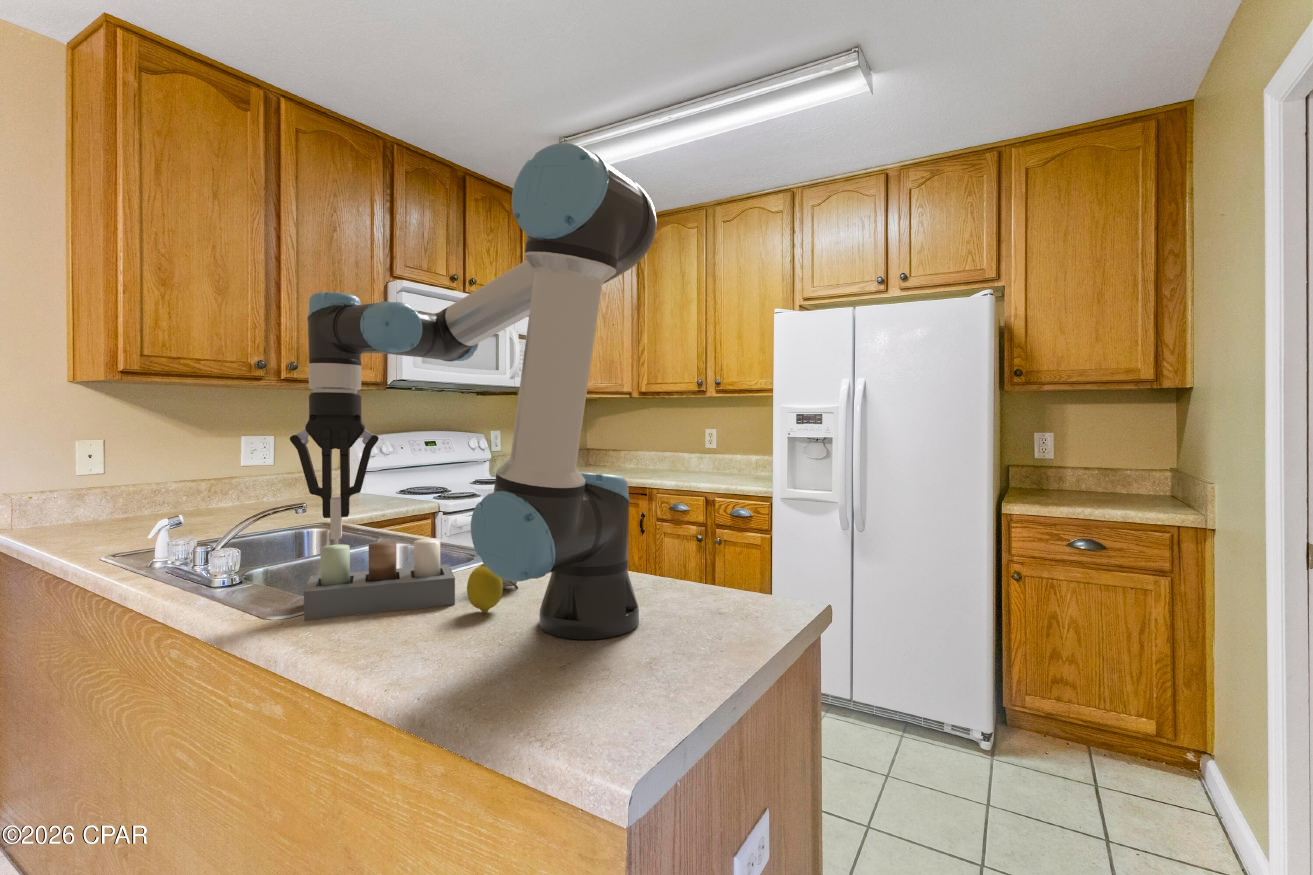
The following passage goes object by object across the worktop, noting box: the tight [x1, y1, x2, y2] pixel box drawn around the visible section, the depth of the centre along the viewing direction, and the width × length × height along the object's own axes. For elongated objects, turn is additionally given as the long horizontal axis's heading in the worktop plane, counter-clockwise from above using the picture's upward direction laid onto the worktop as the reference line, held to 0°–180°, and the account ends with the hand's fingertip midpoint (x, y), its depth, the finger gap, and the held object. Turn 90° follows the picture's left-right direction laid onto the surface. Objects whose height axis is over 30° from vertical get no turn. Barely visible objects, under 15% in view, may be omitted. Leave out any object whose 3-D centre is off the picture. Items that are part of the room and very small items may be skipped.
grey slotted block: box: [303, 563, 456, 622], centre depth 104 cm, size 10×22×4 cm, turn 114°
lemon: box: [466, 562, 504, 614], centre depth 100 cm, size 6×6×8 cm
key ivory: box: [413, 538, 441, 578], centre depth 107 cm, size 4×4×7 cm
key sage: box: [320, 544, 351, 586], centre depth 101 cm, size 4×4×7 cm
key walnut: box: [368, 541, 397, 582], centre depth 104 cm, size 4×4×7 cm
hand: (336, 537), depth 101 cm, fingers closed
